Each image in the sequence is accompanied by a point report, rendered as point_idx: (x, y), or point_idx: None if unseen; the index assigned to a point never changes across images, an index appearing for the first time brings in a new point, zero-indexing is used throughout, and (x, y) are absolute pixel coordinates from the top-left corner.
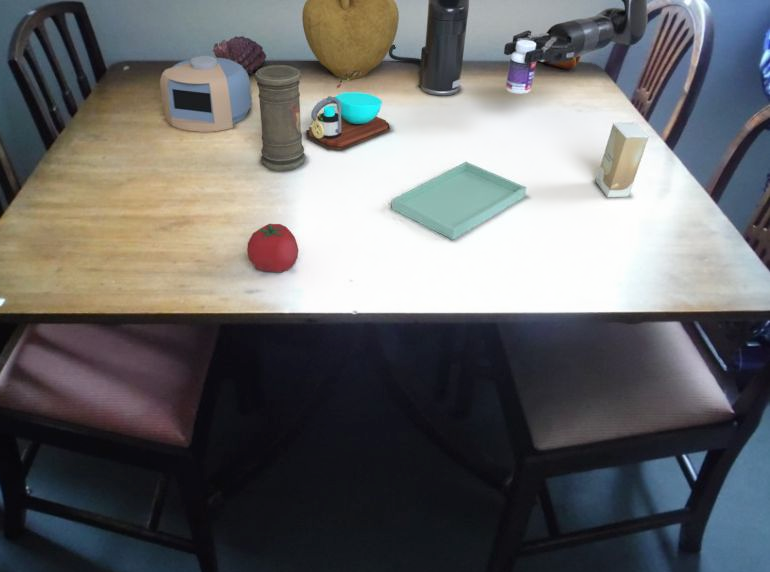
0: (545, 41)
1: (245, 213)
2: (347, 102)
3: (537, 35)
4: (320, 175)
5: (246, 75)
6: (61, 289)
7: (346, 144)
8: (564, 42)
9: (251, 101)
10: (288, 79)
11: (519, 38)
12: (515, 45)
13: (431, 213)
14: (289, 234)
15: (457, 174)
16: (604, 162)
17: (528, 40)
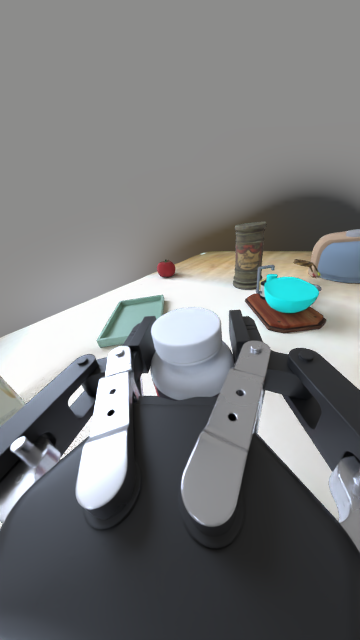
0: (163, 429)
1: (205, 274)
2: (277, 280)
3: (240, 420)
4: (219, 290)
5: (356, 251)
6: (198, 257)
7: (248, 301)
8: (21, 561)
9: (349, 275)
10: (235, 226)
11: (259, 344)
12: (233, 336)
13: (142, 306)
14: (161, 264)
15: None
16: (8, 387)
17: (201, 339)
